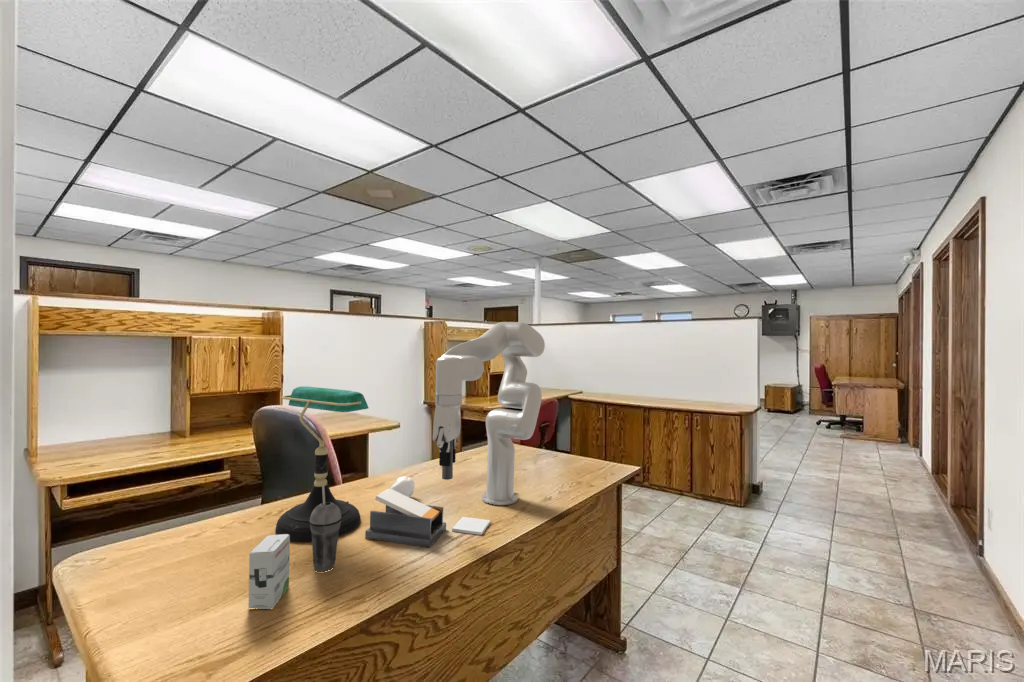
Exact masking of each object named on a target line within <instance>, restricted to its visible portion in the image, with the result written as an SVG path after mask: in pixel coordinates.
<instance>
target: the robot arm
mask: <svg viewBox="0 0 1024 682" xmlns="http://www.w3.org/2000/svg"><path fill="white" fill-rule="evenodd" d="M545 348H546V343H545V339H544V337H543V336H542V334H541V333H540V332H538V331H537V329H535V328H533V327H532V326H531V325H530V324H528V323H526V322H524V321H523V322H522V321H501V322H498V323H496V324H494V325H493V326H491V327H490V328H489V329H488V330H487V331H485V332H484V333H483V334H482V335H480V336H479V337H477V338H472V339H470V340H468V341H465V342H462V343H459V344H457V345H454V346H452V347H451V348H450V349H448V350H447V351H446V352H445V353H443V354H442V355H441V357H438V358H437V359H436V363H435V396H434V397H435V399H434V400H435V402H434V403H435V404H434V405H435V411H434V416H433V426H432V428H433V429H432V440H433V442H436V447H437V448H438V452H439V458H438V459H439V466H440V467H442V466H448V467H449V466H450V465H451V452H449V451H450V441H451V440H453V464H455V462H456V448H457V439H458V437H460V434H461V426H462V425H461V423H462V422H461V421H462V420H461V418H462V417H461V406H462V405H463V381H466V382H474V381H476V380H479V379H480V378H481V377H482V376H483V374H484V372H485V366H484V365H485V364H484V362H486V361H491V360H494V359H496V358H497V357H498V356H499V355H500V354H501V356H502V360H503V363H504V371H503V375H502V379H501V381H500V385H499V388H498V393H497V403H498V404H500V406H502V407H506V408H494V409H492V410H490V411H489V412H488V413H487V415H486V417H485V428H486V429H485V430H486V435H487V465H486V467H487V468H486V469H487V471H486V492H483V494H481V499H482V501H483V502H484V503H486V504H488V503H489V504H490V505H492V504H493V506H506V505H507V506H508V505H512V504H515V503H517V501H518V500H519V499H518V498H519V497H518V494H516V493H515V490H514V488H515V460H516V458H515V455H516V454H515V453H516V449H515V445H514V442H513V441H512V439H515V440H516V439H517V440H523V441H525V440H529V439H531V438H532V437H533V435H534V432H535V429H536V426H537V421H538V418H539V413H540V409H541V404H542V396H543V395H542V390H541V387H540V386H539V385H538V384H536V383H534V382H529V381H527V382H526V380H527V376H528V369H527V366H526V364H525V363H524V361H523V360H522V359H521V357H529V358H537V357H540V356H542V355H543V353H544V350H545ZM507 408H510V409H507ZM511 408H512V409H511ZM514 409H515V410H514ZM516 409H520V410H516ZM444 439H446V440H445V441H444ZM444 443H446V444H447V446H446V444H444ZM489 504H488V505H489Z"/></svg>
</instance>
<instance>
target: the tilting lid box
mask: <svg viewBox="0 0 1024 682" xmlns="http://www.w3.org/2000/svg"><path fill="white" fill-rule="evenodd" d="M425 505H426V506H429V507H431V508H433V509H435V510H437V511H440V512H439V515H438V516H437V517H436V518H435V519H434V520H433V521H432V522H431V518H424V517H417V516H409V515H406V514H404V513H402V512H400V511H398V510H396V509H394V508H392V507H389V506H387V505H385V511H378V510H377V511H376V510H370V511H369V513H370V515H369V528H367V530H365V538H364V539H366V538H370V539H369V540H373V539H376V540H375V541H380V540H383V541H382V542H387V541H388V542H387V543H395V544H400V543H401V545H402V544H403V545H408V546H409V545H410V546H414V547H421V548H431V546H432V545H433V544H434V543H435V542H436V541H437V540H438V539H439V538H440V537H441V536H442V535H443V534H444V533H445V532H446V530H447V522H444V506H437V505H428V504H425Z"/></svg>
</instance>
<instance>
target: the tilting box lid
mask: <svg viewBox="0 0 1024 682" xmlns="http://www.w3.org/2000/svg"><path fill="white" fill-rule="evenodd" d="M374 500H375V501H377V502H378V503H381V504H383V505H385V506H386V505H387V506H389V507H392V508H394V509H396V510H398V511H400V512H402V513H404V514H406V515H409V516H417V517H424V518H431V522H432V521H433V520H434V519H435V518H436V517H437V516H438V515H439V512H440V511H437V510H435V509H433V508H431V507H429V506H426V505H427V504H424V503H422V502H419V501H417V500H416V499H413V498H411V497H407V496H405V495H403V494H401V493H399V492H396V491H394V490H392V489H391V488H389V487H388V488H387V489H385V490H383V491H382V492H380V493H379V494H376V496H375V499H374Z"/></svg>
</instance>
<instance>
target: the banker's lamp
mask: <svg viewBox="0 0 1024 682" xmlns="http://www.w3.org/2000/svg"><path fill="white" fill-rule="evenodd" d="M281 399H282V400H288V406H291V407H299V408H303V409H302V410H301V413H300V415H299V421H300V423H301V425H303V427H304V428H306V430H307V431H308V432H309V433H310V434H311V435H312V436H313V437H314V438H315V439H316V440H317V441H318V442H319V446H318V447H317V448H316V449H315V450H314V455H315V457H314V458H315V461H314V472H313V473H314V478H315V480H314V482H313V486H312V488H311V489H310V490H311V491H310V492H309V495H308V496H307V498H306V500H305V501H304V502H302V503H299V504H297V505H295V506H293V507H291V508H290V509H287V510H286V511H285V512H283V514H282V515H281V516H279V518H278V520H276V521H277V522H276V525H275V531H274V532H275V535H281V534H288V535H290V542H299V543H310V542H311V541H312V532H311V529H310V524H309V521H310V517H311V514H312V512H313V510H314V509H315V508H316V507H317V506H318V505H319V504H321V503H323V495H322V486H324V489H325V502H331V503H334V504H335V505H337V506H338V507H339V509H340V512H341V517H342V520H341V524H340V528H339V534H338V537H341V536H344V535H347V534H348V533H350V532H351V531H353V530H355V529H356V528H358V526H359V525H360V524H361V521H362V519H361V514H360V511H359V509H358V508H357V507H356V506H355V505H353V504H352V503H350V502H349V500H347V501H344V500H341V499H336V498H335V497H334V495H333V493H332V491H331V489H330V487H329V484H328V480H327V479H326V478H327V476H328V472H329V471H328V454H329V449H328V447H326V446H325V440H324V439H321V438H320V437H319V436H318V434H317V433H316V432H315V431H314V430H313V429H312V428H311V427H310V426H309V425H308V424H307V423H306V421H305V420H304V419H303V418H304V415H305V413H306V412H307V409H314V410H321V411H330V412H336V413H350V412H351V413H352V412H355V411H357V412H358V411H363V410H367V409H369V406H368V402H367V401H366V398H365V396H364V395H363V393H361V392H359V391H356V390H355V391H353V390H348V389H347V390H346V389H337V388H329V387H326V388H325V387H319V386H318V387H317V386H309V385H308V386H307V385H305V386H303V385H302V386H296V387H295V388H293V389H292V391H291V394H288V395H282V396H281ZM311 543H312V542H311Z"/></svg>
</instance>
